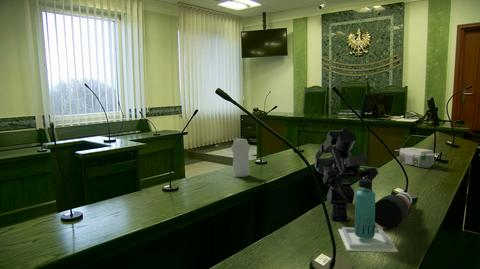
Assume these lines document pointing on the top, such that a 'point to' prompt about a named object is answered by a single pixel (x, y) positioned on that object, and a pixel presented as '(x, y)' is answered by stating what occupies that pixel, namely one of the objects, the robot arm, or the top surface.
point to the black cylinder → (392, 210)
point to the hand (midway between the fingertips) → (358, 197)
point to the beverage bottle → (365, 210)
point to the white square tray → (366, 241)
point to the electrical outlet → (417, 157)
